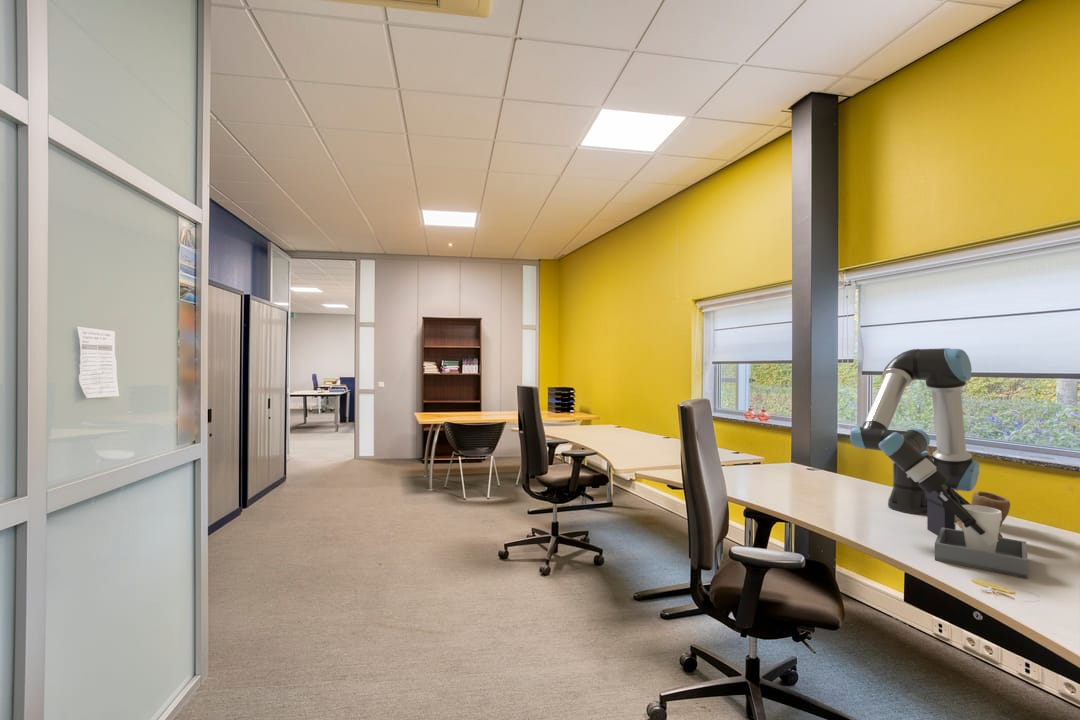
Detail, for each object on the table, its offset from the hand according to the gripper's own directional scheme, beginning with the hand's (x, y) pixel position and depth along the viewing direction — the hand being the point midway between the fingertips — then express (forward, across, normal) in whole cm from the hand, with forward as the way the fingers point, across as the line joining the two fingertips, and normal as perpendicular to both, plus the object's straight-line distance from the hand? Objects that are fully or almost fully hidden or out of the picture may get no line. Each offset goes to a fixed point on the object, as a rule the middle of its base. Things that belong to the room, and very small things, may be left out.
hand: (994, 538), depth 152 cm
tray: (+3, 0, -7) cm, 7 cm away
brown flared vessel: (+3, -27, -7) cm, 28 cm away
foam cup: (+1, 0, -6) cm, 6 cm away
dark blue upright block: (-5, -20, -15) cm, 25 cm away
